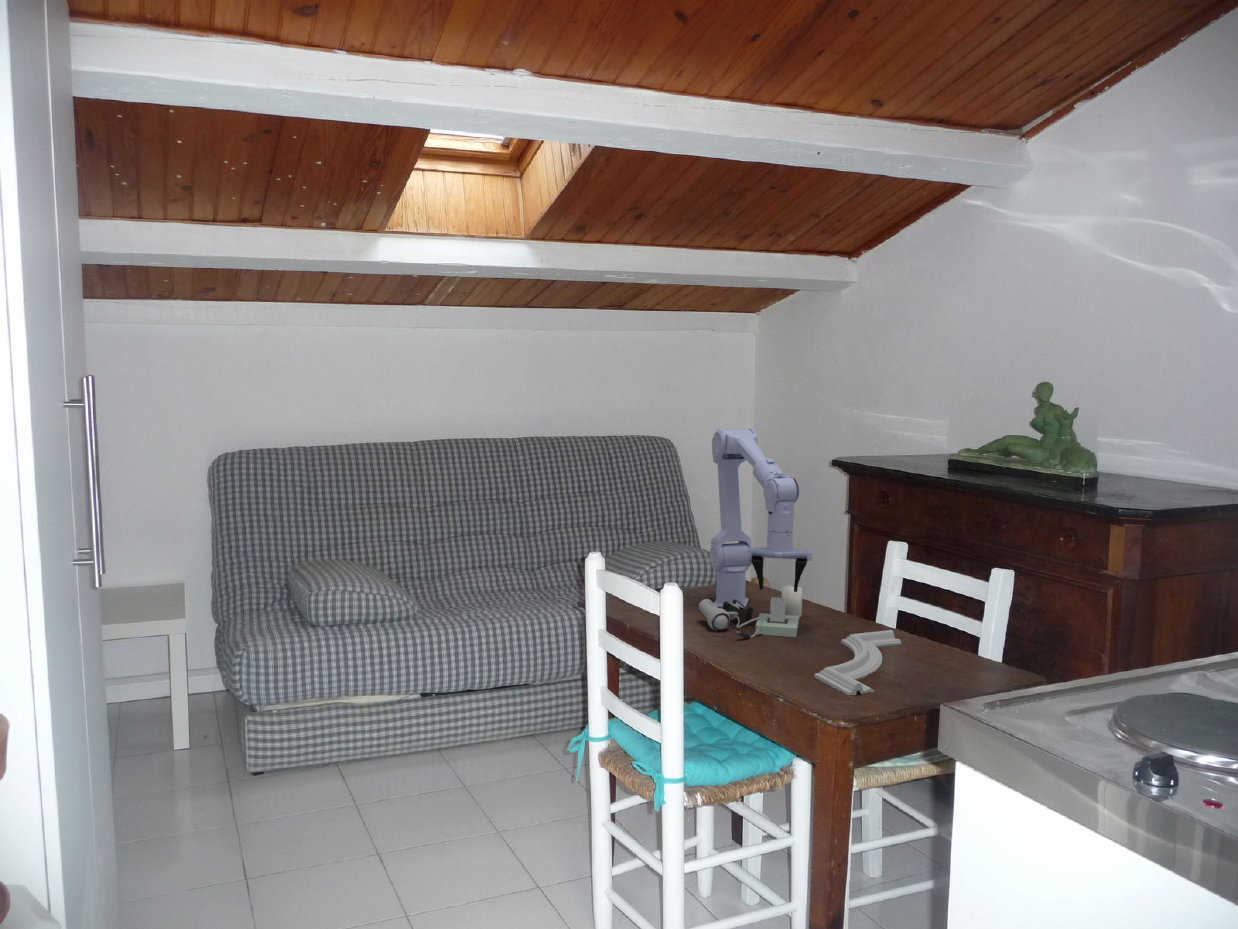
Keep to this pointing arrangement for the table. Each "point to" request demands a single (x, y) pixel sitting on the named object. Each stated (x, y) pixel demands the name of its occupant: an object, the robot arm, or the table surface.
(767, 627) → the socket board
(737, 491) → the robot arm
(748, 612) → the clip-on lamp
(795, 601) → the cream round peg
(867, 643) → the molding
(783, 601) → the steel square peg
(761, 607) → the table surface
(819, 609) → the table surface
